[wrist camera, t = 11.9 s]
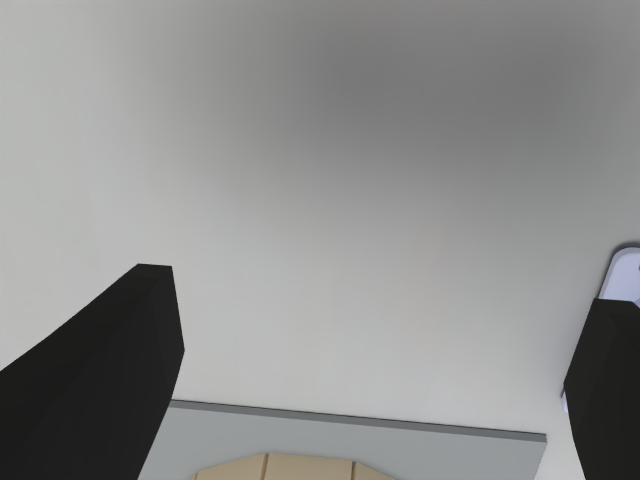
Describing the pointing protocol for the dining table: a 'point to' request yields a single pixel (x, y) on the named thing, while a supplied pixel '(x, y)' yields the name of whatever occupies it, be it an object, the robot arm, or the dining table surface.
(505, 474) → the bead board
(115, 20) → the dining table surface
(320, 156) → the dining table surface
